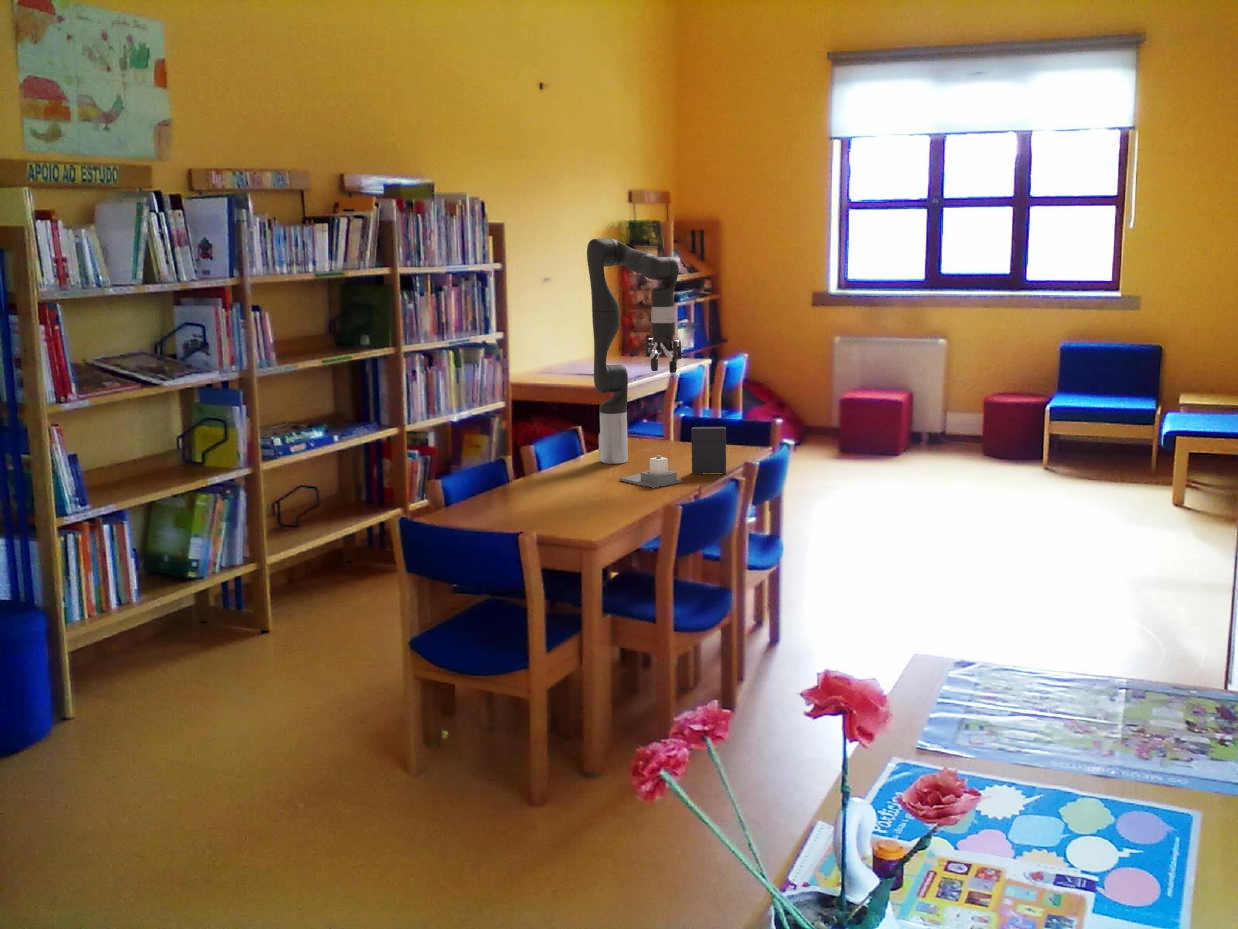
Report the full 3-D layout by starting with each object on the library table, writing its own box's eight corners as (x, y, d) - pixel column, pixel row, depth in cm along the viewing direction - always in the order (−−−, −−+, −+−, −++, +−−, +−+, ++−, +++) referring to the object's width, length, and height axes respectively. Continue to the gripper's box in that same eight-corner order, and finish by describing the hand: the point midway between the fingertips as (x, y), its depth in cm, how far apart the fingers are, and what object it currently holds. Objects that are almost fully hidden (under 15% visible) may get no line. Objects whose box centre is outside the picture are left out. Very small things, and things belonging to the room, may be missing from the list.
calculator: (726, 471, 389) (725, 426, 387) (726, 474, 385) (725, 428, 382) (692, 472, 391) (691, 426, 388) (691, 474, 386) (691, 428, 383)
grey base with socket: (619, 481, 379) (618, 470, 378) (647, 475, 387) (647, 464, 386) (653, 488, 367) (652, 477, 366) (681, 482, 375) (681, 471, 374)
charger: (650, 480, 374) (649, 455, 372) (659, 478, 376) (659, 454, 375) (658, 482, 371) (658, 457, 369) (668, 480, 373) (667, 455, 372)
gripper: (639, 320, 383) (640, 371, 386) (669, 322, 372) (670, 374, 375) (656, 319, 387) (657, 369, 390) (687, 321, 377) (687, 372, 380)
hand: (663, 371), depth 383 cm, fingers open, 8 cm apart
